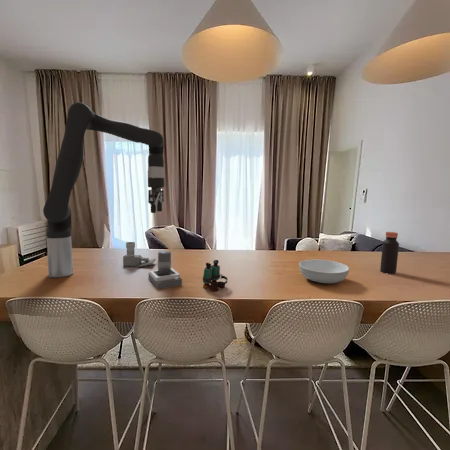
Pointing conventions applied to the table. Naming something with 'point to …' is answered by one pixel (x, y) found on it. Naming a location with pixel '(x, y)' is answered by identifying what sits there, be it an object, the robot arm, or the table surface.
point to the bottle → (389, 253)
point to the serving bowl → (323, 270)
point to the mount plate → (165, 279)
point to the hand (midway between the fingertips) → (156, 212)
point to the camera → (134, 257)
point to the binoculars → (213, 277)
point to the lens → (164, 263)
